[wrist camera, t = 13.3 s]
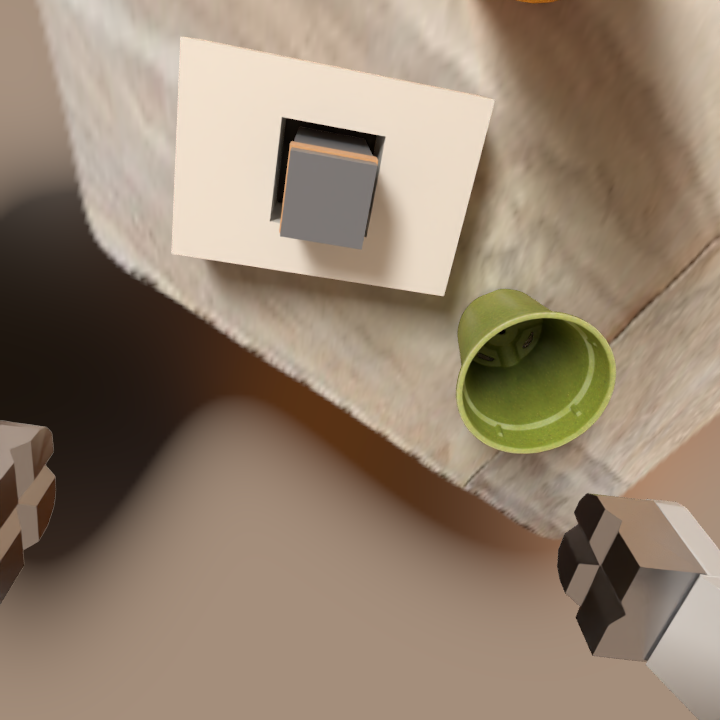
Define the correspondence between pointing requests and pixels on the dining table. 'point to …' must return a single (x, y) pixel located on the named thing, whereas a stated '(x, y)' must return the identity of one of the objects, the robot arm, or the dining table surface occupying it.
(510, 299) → the plant pot
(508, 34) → the dining table surface
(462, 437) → the dining table surface
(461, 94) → the socket block
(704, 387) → the dining table surface
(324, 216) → the plug
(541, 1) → the beer bottle
